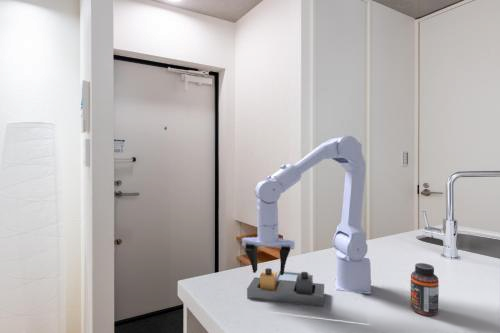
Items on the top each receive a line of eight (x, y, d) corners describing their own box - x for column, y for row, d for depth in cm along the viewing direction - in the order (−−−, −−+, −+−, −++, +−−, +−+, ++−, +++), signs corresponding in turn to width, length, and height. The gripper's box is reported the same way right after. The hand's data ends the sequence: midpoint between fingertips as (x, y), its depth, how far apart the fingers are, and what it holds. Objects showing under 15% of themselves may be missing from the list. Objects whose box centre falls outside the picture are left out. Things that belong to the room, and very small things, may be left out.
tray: (310, 276, 96) (310, 273, 96) (307, 290, 86) (307, 286, 86) (277, 273, 99) (277, 270, 99) (271, 286, 89) (271, 283, 89)
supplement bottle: (405, 305, 77) (405, 261, 76) (427, 304, 77) (427, 260, 77) (420, 318, 71) (420, 270, 70) (444, 316, 71) (444, 269, 71)
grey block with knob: (312, 296, 82) (312, 270, 82) (311, 303, 78) (311, 276, 78) (298, 295, 83) (297, 269, 83) (296, 302, 79) (296, 275, 79)
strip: (324, 294, 83) (324, 284, 83) (323, 308, 75) (323, 296, 75) (254, 287, 88) (254, 277, 88) (247, 299, 81) (247, 288, 81)
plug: (277, 292, 85) (276, 267, 85) (274, 298, 81) (274, 272, 81) (263, 291, 86) (263, 266, 86) (260, 297, 82) (259, 271, 82)
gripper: (295, 222, 85) (296, 269, 85) (246, 220, 89) (247, 265, 89) (292, 227, 78) (293, 279, 78) (239, 225, 82) (240, 274, 82)
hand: (268, 272), depth 83 cm, fingers open, 7 cm apart
